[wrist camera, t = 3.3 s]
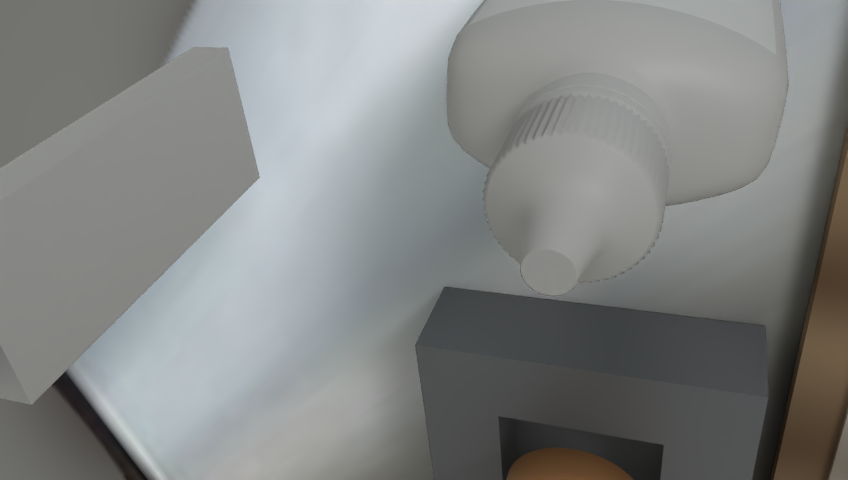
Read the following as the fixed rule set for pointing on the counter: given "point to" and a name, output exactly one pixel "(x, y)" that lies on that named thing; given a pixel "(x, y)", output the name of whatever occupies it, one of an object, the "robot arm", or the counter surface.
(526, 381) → the button housing
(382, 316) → the counter surface
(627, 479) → the button
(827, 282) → the brown picture frame
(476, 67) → the eye dropper bottle
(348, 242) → the counter surface
